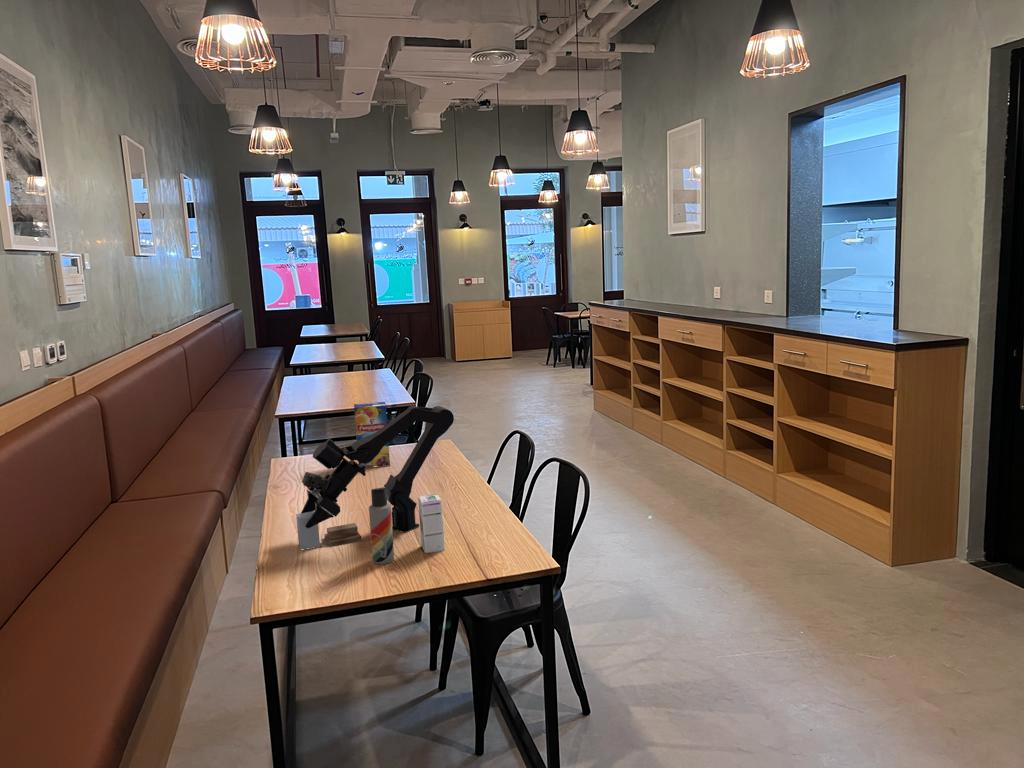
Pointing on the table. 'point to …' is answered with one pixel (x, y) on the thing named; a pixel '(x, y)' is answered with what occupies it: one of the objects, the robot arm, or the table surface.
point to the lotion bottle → (381, 527)
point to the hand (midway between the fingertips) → (303, 522)
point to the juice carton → (372, 428)
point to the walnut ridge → (342, 534)
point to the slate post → (307, 531)
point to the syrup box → (431, 523)
